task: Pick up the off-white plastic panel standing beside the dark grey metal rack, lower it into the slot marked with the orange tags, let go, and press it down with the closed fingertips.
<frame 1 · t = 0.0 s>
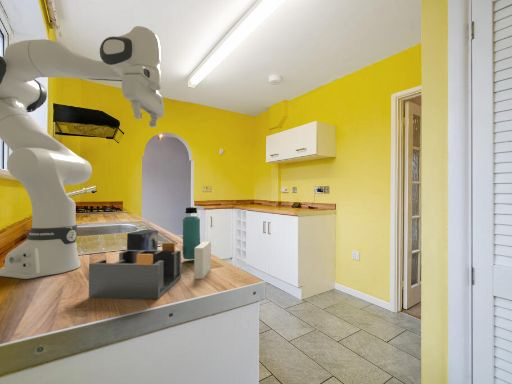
hand: (145, 123, 79), 48 cm above the counter, tool pointing down, fingers open, 8 cm apart
panel: (203, 273, 77), on the counter
beverage bottle: (191, 261, 90), on the counter
rack: (139, 286, 65), on the counter
small box: (142, 259, 94), on the counter
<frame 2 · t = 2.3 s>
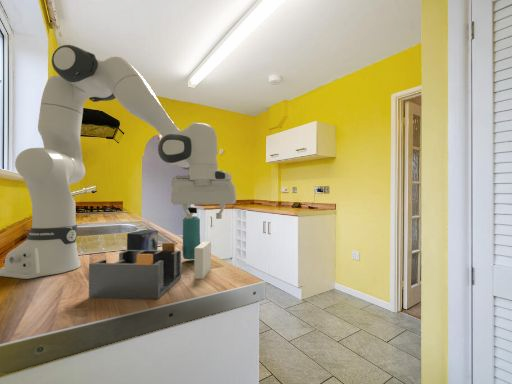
hand: (204, 218, 77), 17 cm above the counter, tool pointing down, fingers open, 8 cm apart
nothing on the counter moved.
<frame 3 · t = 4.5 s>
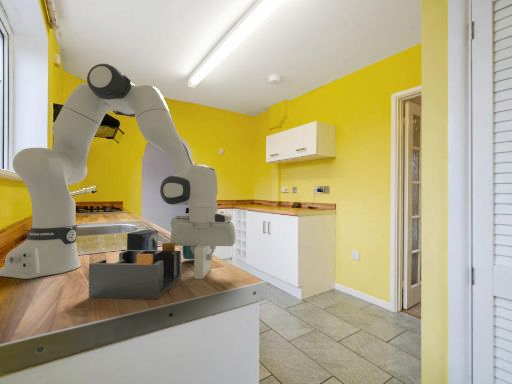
hand: (203, 259, 77), 4 cm above the counter, tool pointing down, fingers closed on panel, 2 cm apart
panel: (203, 273, 77), on the counter, touching gripper
everything else where it was.
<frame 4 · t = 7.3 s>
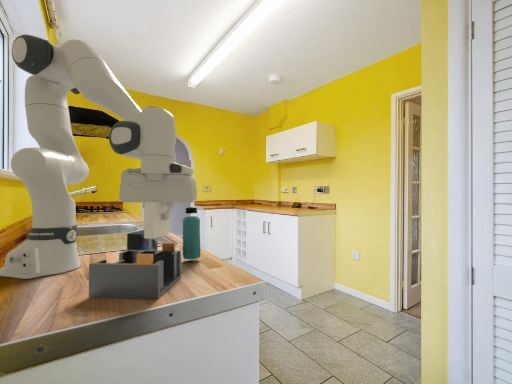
hand: (158, 219, 66), 18 cm above the counter, tool pointing down, fingers closed on panel, 2 cm apart
panel: (158, 235, 65), point 14 cm above the counter, touching gripper
everything else where it was.
when the fingers open (7 cm above the counter, at t = 10.0 s): panel drops 1 cm, resting on rack.
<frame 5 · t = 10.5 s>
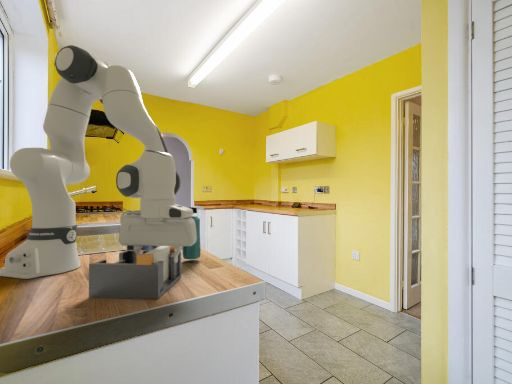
hand: (158, 262, 65), 7 cm above the counter, tool pointing down, fingers open, 7 cm apart
panel: (157, 283, 65), point 1 cm above the counter, touching rack
everything else where it was.
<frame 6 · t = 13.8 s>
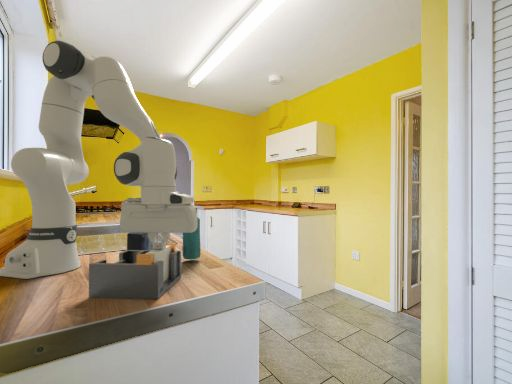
hand: (159, 249, 65), 10 cm above the counter, tool pointing down, fingers closed, pressing on panel
panel: (157, 283, 65), point 1 cm above the counter, touching gripper, rack
everything else where it was.
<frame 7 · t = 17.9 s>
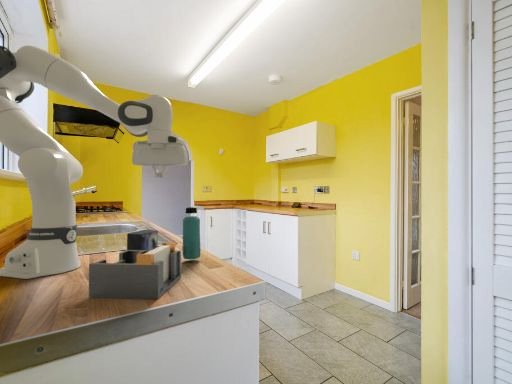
hand: (160, 177, 91), 31 cm above the counter, tool pointing down, fingers closed
panel: (157, 283, 65), point 1 cm above the counter, touching rack
everything else where it was.
at the end: panel 0.1 cm from the target spot on the rack, point 1.0 cm above the rack's base; panel tilted 0°; the gripper is holding nothing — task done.
